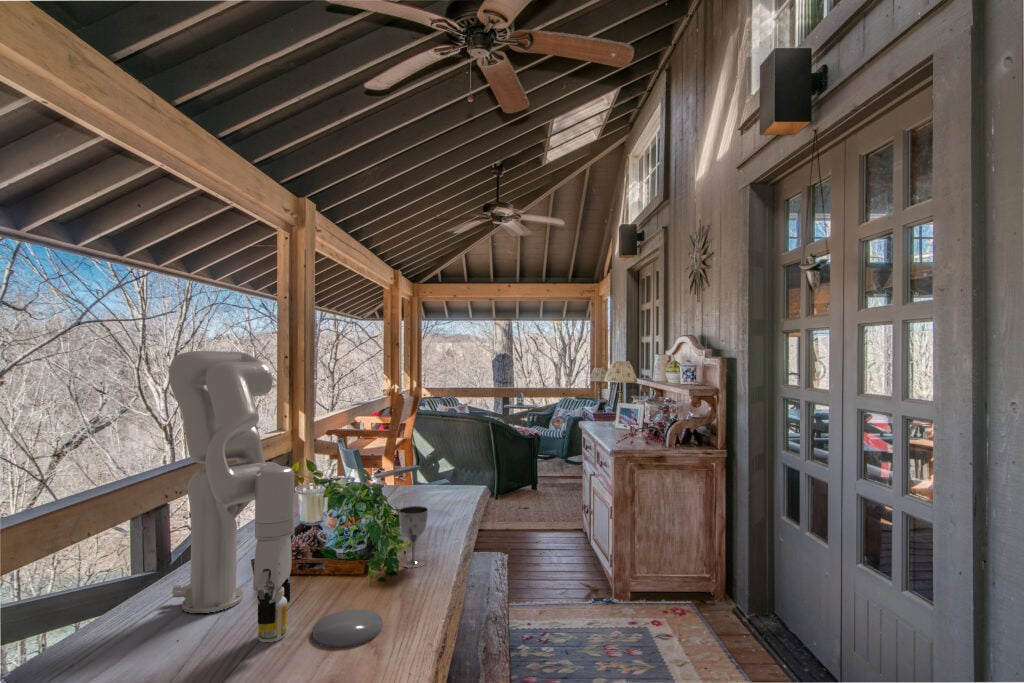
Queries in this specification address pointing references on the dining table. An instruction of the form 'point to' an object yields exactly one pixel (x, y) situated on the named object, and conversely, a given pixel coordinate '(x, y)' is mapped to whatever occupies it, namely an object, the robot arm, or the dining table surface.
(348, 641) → the smooth grey river stone
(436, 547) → the dining table surface
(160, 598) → the dining table surface
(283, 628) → the supplement bottle
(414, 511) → the wine glass
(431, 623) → the dining table surface
